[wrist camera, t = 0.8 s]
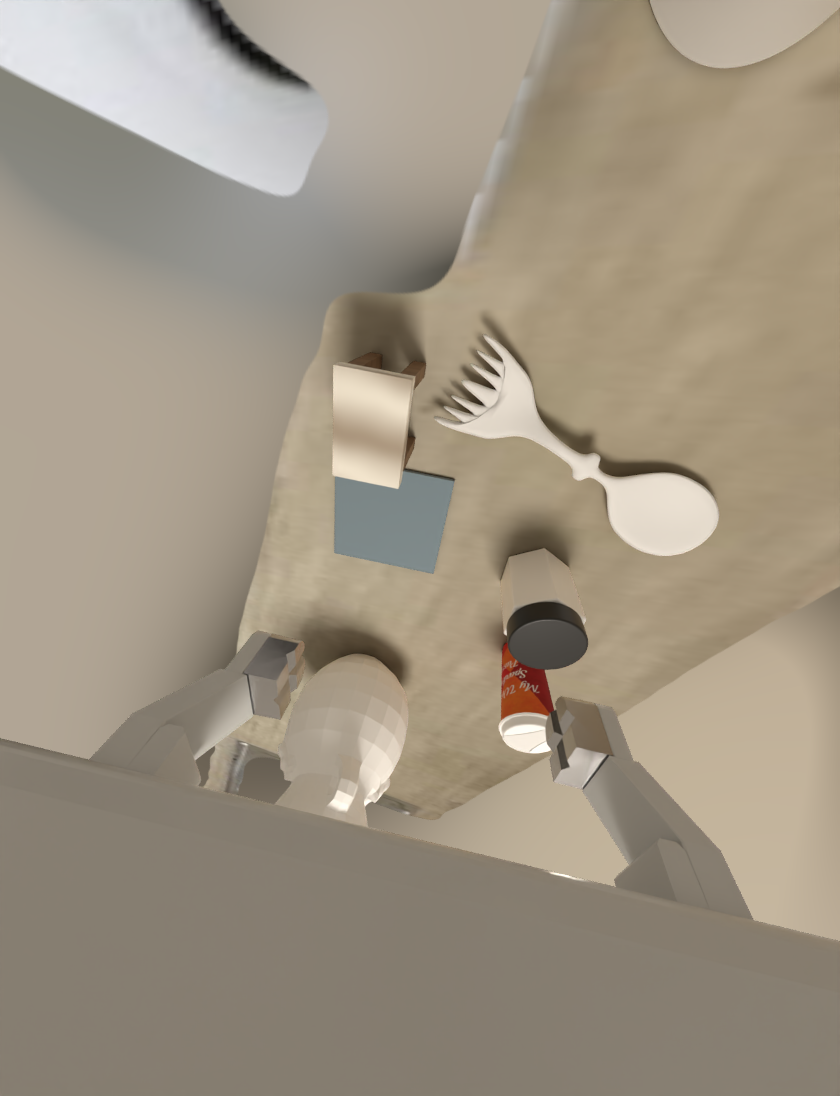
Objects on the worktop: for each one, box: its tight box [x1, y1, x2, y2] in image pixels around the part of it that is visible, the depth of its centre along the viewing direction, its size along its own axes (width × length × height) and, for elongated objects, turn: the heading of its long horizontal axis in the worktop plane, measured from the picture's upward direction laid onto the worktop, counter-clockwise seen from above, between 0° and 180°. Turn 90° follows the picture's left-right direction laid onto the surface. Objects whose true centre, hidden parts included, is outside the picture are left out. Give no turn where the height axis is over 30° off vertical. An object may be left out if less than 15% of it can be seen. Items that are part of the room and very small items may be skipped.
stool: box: [333, 352, 426, 489], centre depth 33 cm, size 9×6×10 cm, turn 171°
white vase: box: [275, 654, 408, 827], centre depth 54 cm, size 19×18×25 cm
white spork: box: [434, 334, 719, 556], centre depth 36 cm, size 9×32×4 cm, turn 60°
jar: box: [500, 548, 588, 670], centre depth 42 cm, size 9×8×12 cm
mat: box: [334, 470, 455, 574], centre depth 45 cm, size 14×14×1 cm
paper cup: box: [499, 643, 554, 753], centre depth 50 cm, size 8×8×14 cm
